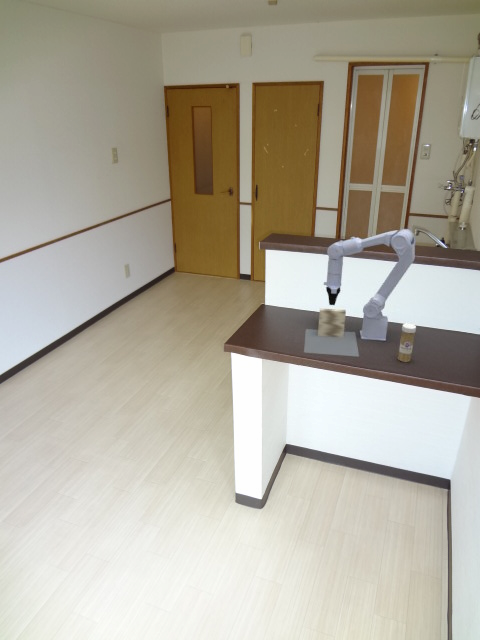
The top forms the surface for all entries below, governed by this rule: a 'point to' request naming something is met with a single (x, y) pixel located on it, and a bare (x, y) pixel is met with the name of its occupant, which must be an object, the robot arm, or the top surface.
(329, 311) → the teal framed tile
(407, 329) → the sprinkles bottle
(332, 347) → the slate mat
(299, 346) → the top surface
